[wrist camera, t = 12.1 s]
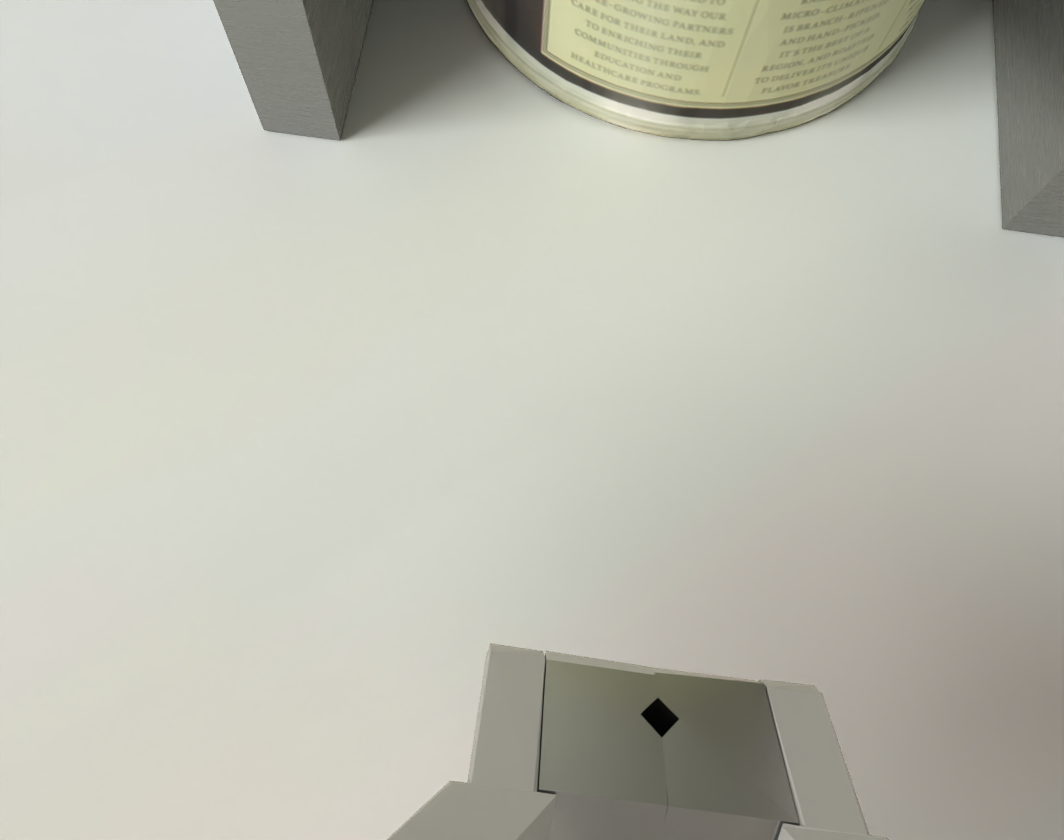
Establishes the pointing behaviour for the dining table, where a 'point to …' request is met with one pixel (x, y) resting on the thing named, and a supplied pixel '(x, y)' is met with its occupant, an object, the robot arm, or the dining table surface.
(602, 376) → the dining table surface
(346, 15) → the receiver bay
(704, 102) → the coffee can
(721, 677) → the robot arm
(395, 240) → the dining table surface
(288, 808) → the dining table surface
